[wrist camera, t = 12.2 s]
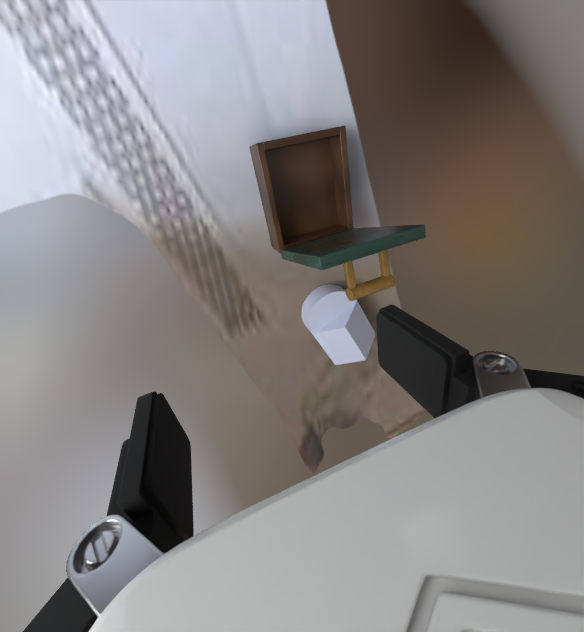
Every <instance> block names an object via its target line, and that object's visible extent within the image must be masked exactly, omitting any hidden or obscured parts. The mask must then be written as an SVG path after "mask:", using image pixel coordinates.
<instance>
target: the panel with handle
mask: <svg viewBox="0 0 584 632" xmlns="http://www.w3.org/2000/svg"><path fill="white" fill-rule="evenodd" d="M425 237H426V234H425V225H408V226H388V227H368V228H354V229H350V230H347V231H344V232H340V233H337V234H333V235H330V236H326V237H323V238H320V239H316V240H313V241H309V242H306V243H302V244H299V245H296V246H292V247H289V248H285V249H282V250H280V251H281V255H282V259H285V260H288V261H292V262H295V263H299V264H302V265H306V266H309V267H313V268H316V269H320V270H324V269H327V268H330V267H333V266H337V265H340V264H343V266H344V271H345V277H346V282H347V287H348V288H347V289H346V296H347V298H348V300H349V301H353V300H356V299H359V298H362V297H365V296H368V295H370V294H373V293H376V292H379V291H382V290H385V289H388V288H390V287H393V286H394V284H395V280H394V277H393V276H392V275H391V274H390V266H389V259H388V251H387V249H390V248H393V247H396V246H400V245H403V244H406V243H409V242H412V241H415V240H418V239H421V238H425ZM374 253H378V255H379V262H380V269H381V277H378V278H375V279H372V280H369V281H366V282H363V283H360V284H358V285H356V281H355V275H354V269H353V264H352V260H355V259H359V258H362V257H365V256H368V255H371V254H374Z"/></svg>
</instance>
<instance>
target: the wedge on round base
mask: <svg viewBox="0 0 584 632" xmlns="http://www.w3.org/2000/svg"><path fill="white" fill-rule="evenodd" d="M301 315H302V320H303V323H304V324H305V326H306V327H307V328H308V329H309V331H310V332H311V333H312V334H313V335H314V337H315V338H316V340H317V341H318V342H319V344H320V345H321V346H322V348H323V349H324V350H325V352H326V353H327V354H328V356H329V357H330V358H331V360H332V361H333V362H334V364H335V365H339V364H345V363H351V362H357V361H364V360H366V359H367V356H368V353H369V351H370V348H371V345H372V343H373V340H374V337H375V335H376V334H375V332H374V330H373V328H372V327H371V325H370V323H369V321H368V319H367V318H366V316H365V314H364V312H363V310H362V308H361V307H360V305H359V303H358V301H357V300H353V301H349V300H348V298H347V296H346V290H344V289H343V288H342V287H340V286H338V285H334V284H326V285H322V286H320V287H318V288H316V289H315V290H313V291H312V292H311V293H310V294H309V295H308V296H307V298H306V299H305V301H304V303H303V306H302V312H301Z"/></svg>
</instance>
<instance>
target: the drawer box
mask: <svg viewBox="0 0 584 632" xmlns="http://www.w3.org/2000/svg"><path fill="white" fill-rule="evenodd" d="M250 152H251V156H252V160H253V165H254V169H255V174H256V178H257V182H258V187H259V191H260V196H261V200H262V205H263V209H264V213H265V218H266V222H267V227H268V231H269V235H270V240H271V244H272V247H273V248H274V249H275V250H277V251H278V252H279V253H281V251H280V250H282V249H285V248H289V247H292V246H296V245H299V244H302V243H306V242H309V241H313V240H316V239H320V238H323V237H326V236H330V235H333V234H337V233H340V232H344V231H347V230H350V229H353V220H352V207H351V194H350V181H349V168H348V155H347V142H346V129H345V126H340V127H335V128H331V129H326V130H321V131H316V132H311V133H306V134H301V135H297V136H292V137H287V138H282V139H277V140H272V141H267V142H263V143H258V144H255V145H253V146H250Z"/></svg>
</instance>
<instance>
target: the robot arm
mask: <svg viewBox="0 0 584 632" xmlns="http://www.w3.org/2000/svg"><path fill="white" fill-rule="evenodd" d="M376 318H377V341H378V361H379V364H380V366H381V367H382V368H383V369H384V370H385V371H386V372H387V373H388V374H389V375H390V376H391V377H392V378H393V379H394V380H395V381H396V382H397V383H398V384H399V385H401V386H402V387H403V388H404V389H405V390H406V391H407V392H408V393H409V394H410V395H411V396H412V397H413V398H414V399H415V400H416V401H417V402H418V403H419V404H420V405H421V406H422V407H424V408H425V409H426V410H427V411H428V412H429V413H430V414H431V415H432V416H433V417H434V418H435V419H433V420H431V421H428V422H426V423H425V424H422V425H420V426H418V427H416V428H414V429H412V430H410V431H407V432H405V433H403V434H401V435H399V436H397V437H395V438H392V439H390V440H388V441H386V442H384V443H382V444H380V445H378V446H376V447H373V448H372V449H369V450H367V451H365V452H363V453H361V454H359V455H357V456H355V457H353V458H351V459H349V460H346V461H344V462H342V463H340V464H338V465H336V466H334V467H332V468H330V469H328V470H325V471H323V472H321V473H319V474H317V475H315V476H313V477H311V478H309V479H307V480H305V481H303V482H301V483H299V484H296V485H294V486H293V487H290V488H288V489H286V490H284V491H282V492H280V493H278V494H276V495H274V496H272V497H270V498H268V499H266V500H264V501H261V502H259V503H257V504H255V505H253V506H252V507H249V508H247V509H245V510H243V511H241V512H239V513H237V514H235V515H233V516H231V517H229V518H227V519H225V520H224V521H221V522H219V523H218V524H215V525H213V526H212V527H210V528H208V529H206V530H204V531H202V532H200V533H198V534H196V535H195V536H193V505H192V504H193V503H192V475H191V446H190V441H189V439H188V437H187V435H186V433H185V431H184V430H183V428H182V426H181V425H180V423H179V421H178V419H177V418H176V416H175V414H174V412H173V411H172V409H171V407H170V406H169V404H168V402H167V400H166V399H165V397H164V395H163V394H162V393H160V394H157V393H156V392H151V393H149V394H146V395H143V396H141V397H139V398H138V400H137V404H136V409H135V415H134V420H133V425H132V430H131V435H130V439H128V440H126V441H124V443H123V445H122V449H121V453H120V458H119V462H118V467H117V472H116V476H115V481H114V485H113V490H112V494H111V499H110V503H109V508H108V512H107V516H106V517H104V518H102V519H100V520H98V521H97V522H95V523H94V524H92V525H91V526H90V527H89V528H88V529H87V530H86V531H85V532H84V533H83V534H82V535H81V537H80V538H79V539H78V540H77V541H76V543H75V545H74V547H73V548H72V550H71V552H70V555H69V557H68V560H67V566H66V572H67V575H68V578H67V579H66V580H65V582H64V583H63V584H62V585H61V586H60V588H59V589H58V590H57V591H56V593H55V594H54V595H53V596H52V597H51V599H50V600H49V601H48V602H47V603H46V605H45V606H44V607H43V608H42V609H41V610H40V612H39V613H38V614H37V615H36V616H35V618H34V619H33V620H32V621H31V623H30V624H29V625H28V626H27V627H26V629H25V630H24V631H23V632H584V376H579V375H571V374H563V373H554V372H546V371H538V370H530V369H523V368H522V366H521V364H520V363H519V361H517V360H516V359H515V358H514V357H512V356H509V355H507V354H504V353H501V352H495V351H484V352H480V353H478V354H476V355H475V356H474V357H473V356H471V355H470V354H469V351H468V350H467V349H465V348H463V347H461V346H460V345H459V344H457V343H455V342H454V341H452V340H450V339H449V338H447V337H445V336H444V335H442V334H440V333H439V332H437V331H436V330H434V329H432V328H431V327H429V326H427V325H426V324H424V323H422V322H421V321H419V320H417V319H416V318H414V317H413V316H411V315H409V314H407V313H406V312H404V311H403V310H401V309H399V308H398V307H396V306H394V305H390V306H387V307H384V308H381V309H380V310H379V313H378V314H377V316H376Z"/></svg>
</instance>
